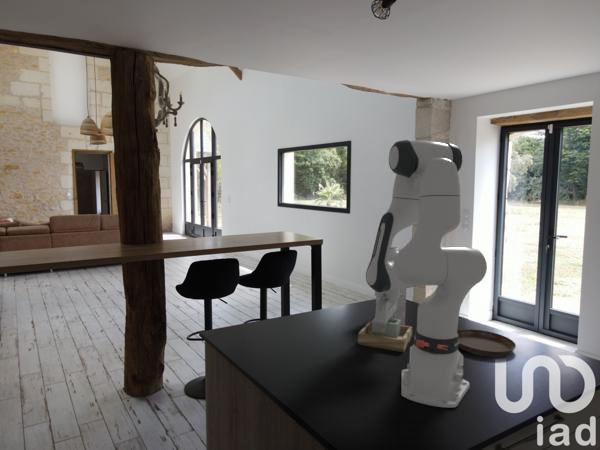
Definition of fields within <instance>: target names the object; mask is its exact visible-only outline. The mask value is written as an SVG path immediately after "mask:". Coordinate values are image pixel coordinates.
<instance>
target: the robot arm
mask: <svg viewBox="0 0 600 450" xmlns="http://www.w3.org/2000/svg"><path fill="white" fill-rule="evenodd" d="M388 164H389V165H388V166H389V168H390V170H391V171H392V173H394V174H396V175H395V177H394V183H393V189H392V197H391V202H390V205H389V208H388V209H387V211H386V212H385V213H384V214H383V215H382V217H381V219H380V222H379V223H378V224H379V225H378V228H377V232H376V238H375V241H374V245H373V249H372V253H371V254H372V255H371V258H370V261H369V263H368V265H367V269H366V272H365V280H366V281H365V282H366V283H367V285H368V286H369V288H371V290H373V291H374V296H375V298H376V297H378V301H377V304H376V303H375V314H374V315H375V316H374V318H375V322H376V323H377V324H380V326H381V332H382V333H386V331H387V327H386V324H387V321H388V320H389V319H390V318H392V317H393V314H394V313H395V311H396V310H397V307H398V299H399V297H400V292H401V289H404V288H406V289H411V288H414V287H416V286H436V289H435V290H434V291H433V292H432V293H431V294H430V295H428V296H426V297H424V298H423V299H422V300H421V301H420V302H419V304H418V305H417V315H416V329H415V331H414V337H413V338H414V342H413V345H411V346H410V347H409V363H406V368H405V369H402V370H401V375H400V377H401V378H400V379H401V381H400V384H401V386H400V387H401V389H400V390H401V394H400V395H401V396H402V397H404V398H406V399H407V400H410V401H412V402H416V403H418V404H419V403H420V404H423V405H427V406H432V407H437V408H438V407H439V408H449V409H450V408H456V407H457V406H459V404H460V402H461V400H462V399H463V398H464V396H465V395H466V393H467V392H468V390H469V389H470V387H471V386H470V385H471V384H470V382H469V381H468V380H466V379H464V368H465V367H464V355H463V354H462V353H461V352H460V351H459V346H458V345H459V335H458V334H457V330H459V329H458V328H459V327H458V326H459V317H460V312H461V311H460V310H461V306H462V304H463V301H464V299H465V298H466V296H467V295H468V293H469V292H470V291H471V289H473V288H474V287H475V286H476V285H477V284H479V283H481V281H483V280H484V277H485V276H486V274H487V270H488V264H487V260H486V258H485V255H484V254H483V253H482V252H481V251H480V250H478V249H477V248H471V247H468V246H467V247H466V246H443V245H442V246H441V243H442V239H443V238H444V237H445V235H447V234H449V233H452V232H453V231H454V230H456V229H457V228H458V227H459V225H460V223H461V185H460V178H459V172H460V170H461V167H462V164H463V154H462V151H461V148H460V147H459V146H457V145H455V144H453V143H449V142H439V141H431V140H430V141H429V140H425V139H423V140H422V139H420V140H419V139H418V140H417V139H416V140H409V139H404V140H399V141H396V142H395V143H394V144H393V145H392V146H391V148H390V151H389V155H388ZM415 224H417V227H416V230H415V232H414V234H413V236H412V238H411V239H410V241H409V242H408V243H407V244H406V245H405V246H404V247H402V248H401V249H400V248H398V247H396V246H392V245H393V241H394V239H395V237H396V236H397V234H399V233H400V232H401V231H403V230H405V229H407V228H409V227H411V226H413V225H415Z"/></svg>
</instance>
